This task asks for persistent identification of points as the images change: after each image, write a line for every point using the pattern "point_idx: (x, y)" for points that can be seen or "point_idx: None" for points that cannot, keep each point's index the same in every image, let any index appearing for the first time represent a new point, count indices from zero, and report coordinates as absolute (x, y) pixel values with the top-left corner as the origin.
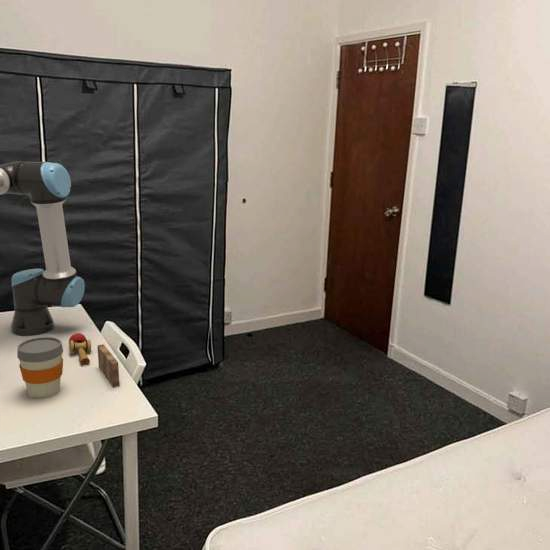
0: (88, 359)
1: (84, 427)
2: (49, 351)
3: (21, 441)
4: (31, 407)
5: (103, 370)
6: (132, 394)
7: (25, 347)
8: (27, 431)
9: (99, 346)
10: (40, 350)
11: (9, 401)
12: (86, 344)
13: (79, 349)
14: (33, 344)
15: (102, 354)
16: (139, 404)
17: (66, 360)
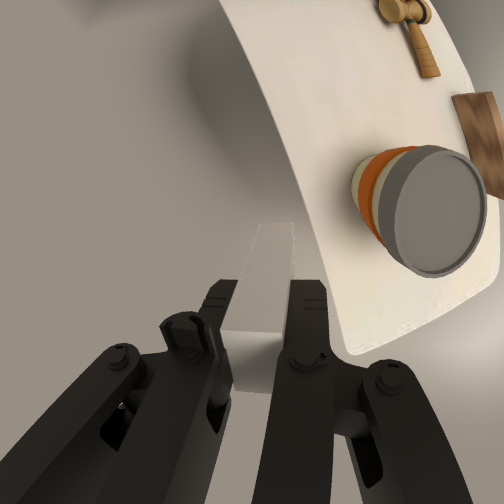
0: (440, 75)
1: (438, 310)
2: (464, 260)
3: (367, 345)
4: (369, 255)
5: (468, 131)
6: (494, 219)
7: (409, 217)
8: (372, 324)
9: (489, 102)
10: (445, 242)
11: (323, 230)
12: (423, 15)
13: (413, 27)
14: (426, 193)
15: (492, 133)
16: (495, 250)
17: (382, 40)
